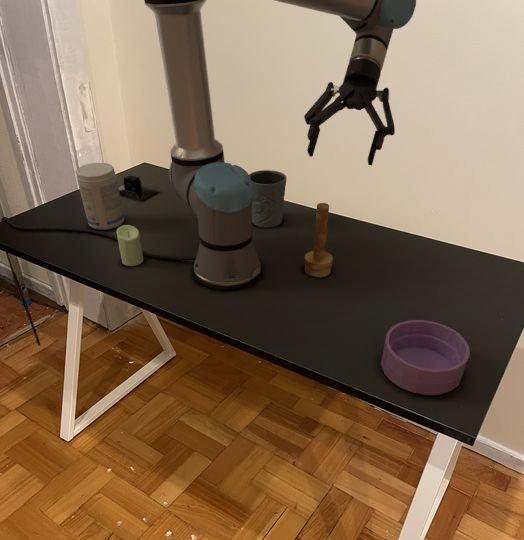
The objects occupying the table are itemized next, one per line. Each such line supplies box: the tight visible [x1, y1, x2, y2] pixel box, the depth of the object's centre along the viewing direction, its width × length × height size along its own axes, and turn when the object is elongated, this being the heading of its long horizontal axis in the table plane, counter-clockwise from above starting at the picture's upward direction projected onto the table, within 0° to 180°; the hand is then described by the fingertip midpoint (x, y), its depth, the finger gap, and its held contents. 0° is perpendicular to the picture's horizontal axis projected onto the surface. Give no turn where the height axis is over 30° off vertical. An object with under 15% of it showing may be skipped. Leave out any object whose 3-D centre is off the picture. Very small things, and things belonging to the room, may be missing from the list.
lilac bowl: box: [380, 319, 471, 396], centre depth 92 cm, size 14×14×6 cm
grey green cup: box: [248, 169, 287, 228], centre depth 137 cm, size 10×10×12 cm
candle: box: [116, 224, 144, 267], centre depth 121 cm, size 5×5×8 cm
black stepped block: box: [118, 174, 158, 202], centre depth 154 cm, size 12×7×5 cm, turn 60°
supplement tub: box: [75, 162, 125, 231], centre depth 135 cm, size 10×10×15 cm
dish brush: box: [303, 202, 334, 278], centre depth 116 cm, size 6×6×16 cm
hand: (339, 158), depth 114 cm, fingers open, 13 cm apart
